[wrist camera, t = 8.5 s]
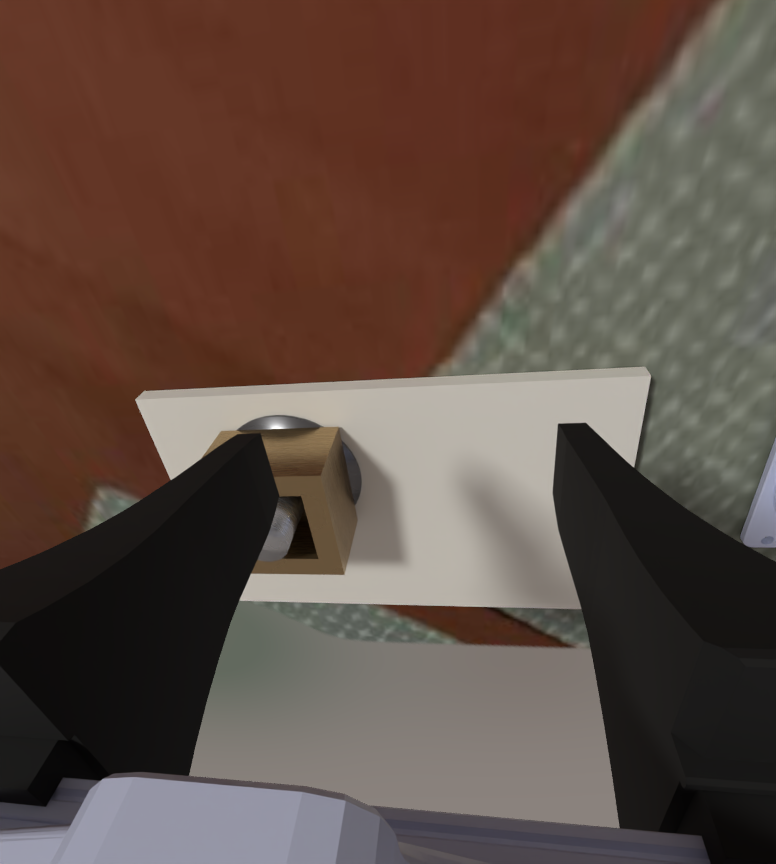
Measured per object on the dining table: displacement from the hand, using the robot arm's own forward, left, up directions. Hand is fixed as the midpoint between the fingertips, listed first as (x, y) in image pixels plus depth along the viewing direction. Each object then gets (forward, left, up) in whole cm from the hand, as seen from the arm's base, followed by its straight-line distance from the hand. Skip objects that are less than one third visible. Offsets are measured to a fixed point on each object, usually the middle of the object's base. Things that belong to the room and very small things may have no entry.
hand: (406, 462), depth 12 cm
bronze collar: (+7, +7, -8) cm, 13 cm away
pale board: (+3, +10, -9) cm, 14 cm away
